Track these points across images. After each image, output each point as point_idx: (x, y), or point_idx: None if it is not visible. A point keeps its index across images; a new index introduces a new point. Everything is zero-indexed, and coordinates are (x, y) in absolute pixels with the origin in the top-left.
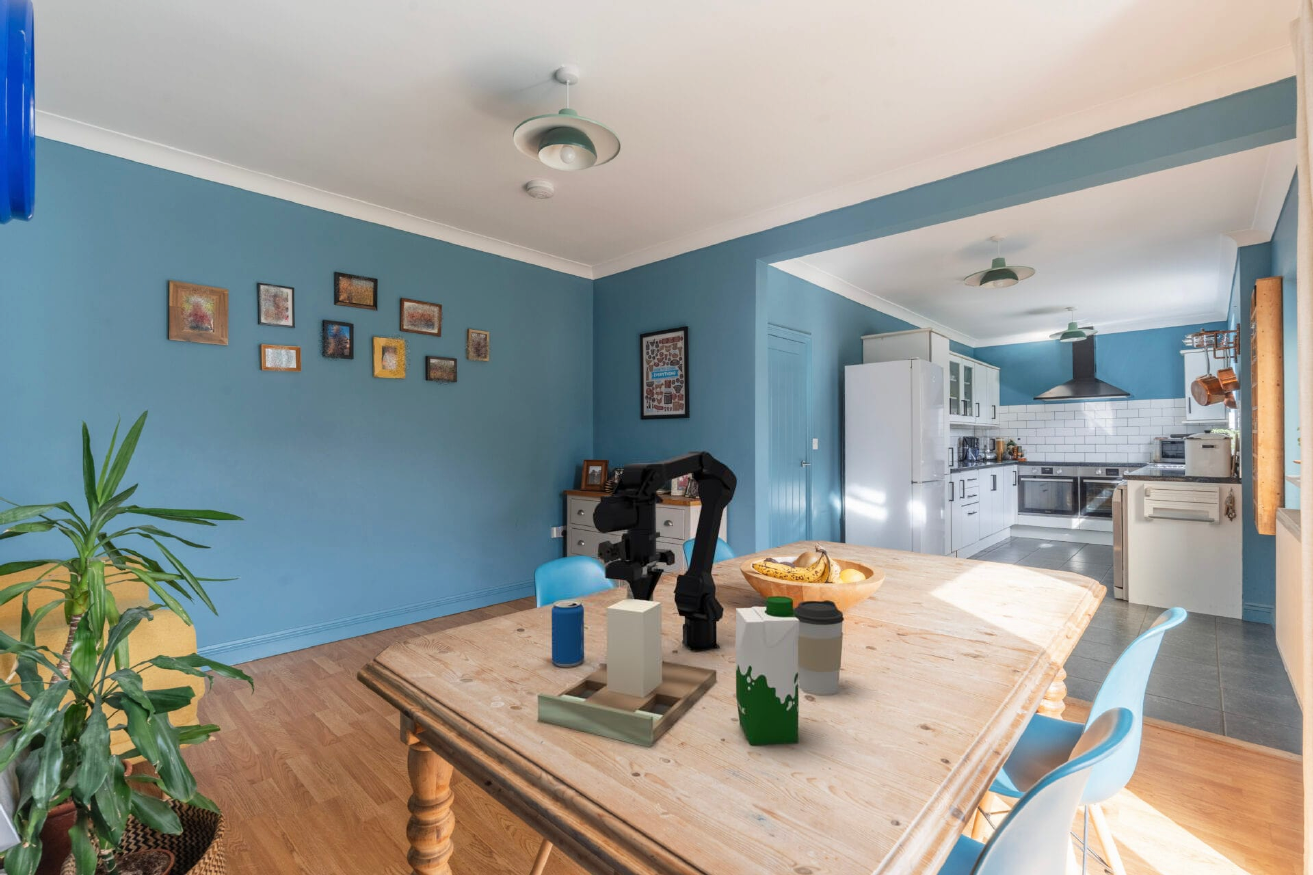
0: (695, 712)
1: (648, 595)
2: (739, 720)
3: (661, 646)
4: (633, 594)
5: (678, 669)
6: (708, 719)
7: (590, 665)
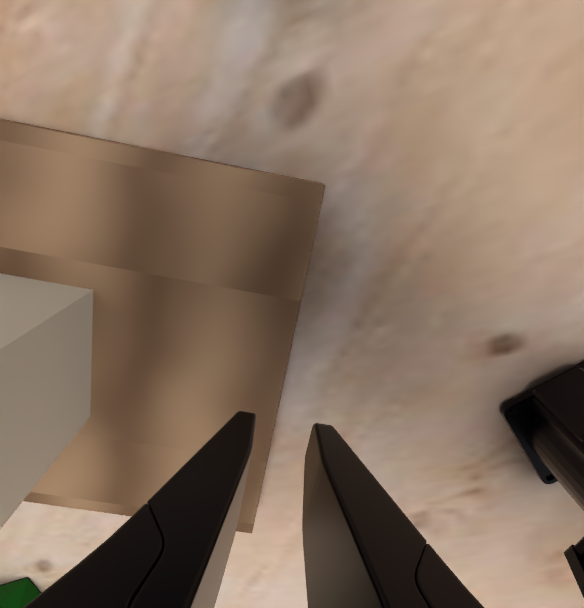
0: None
1: (311, 571)
2: (15, 587)
3: (4, 519)
4: (161, 494)
5: None
6: (14, 522)
7: (280, 33)
